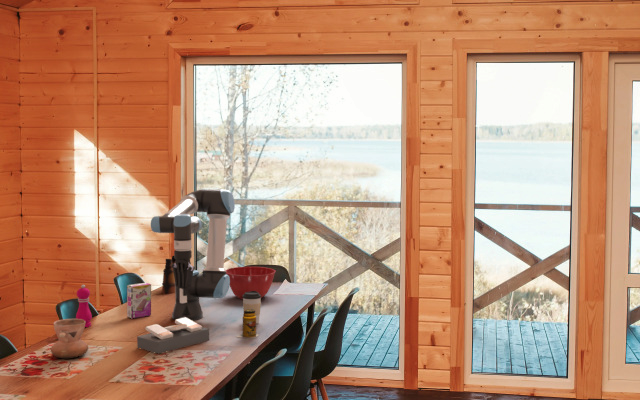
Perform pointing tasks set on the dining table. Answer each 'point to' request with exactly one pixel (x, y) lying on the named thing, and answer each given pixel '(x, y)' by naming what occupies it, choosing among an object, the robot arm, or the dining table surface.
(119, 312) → the dining table surface
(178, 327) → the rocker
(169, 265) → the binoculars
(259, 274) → the mixing bowl
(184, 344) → the power strip
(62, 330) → the ceramic jug
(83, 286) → the pepper mill
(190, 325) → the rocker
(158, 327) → the rocker
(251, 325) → the condiment
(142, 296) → the candy bar box
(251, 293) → the coffee cup
